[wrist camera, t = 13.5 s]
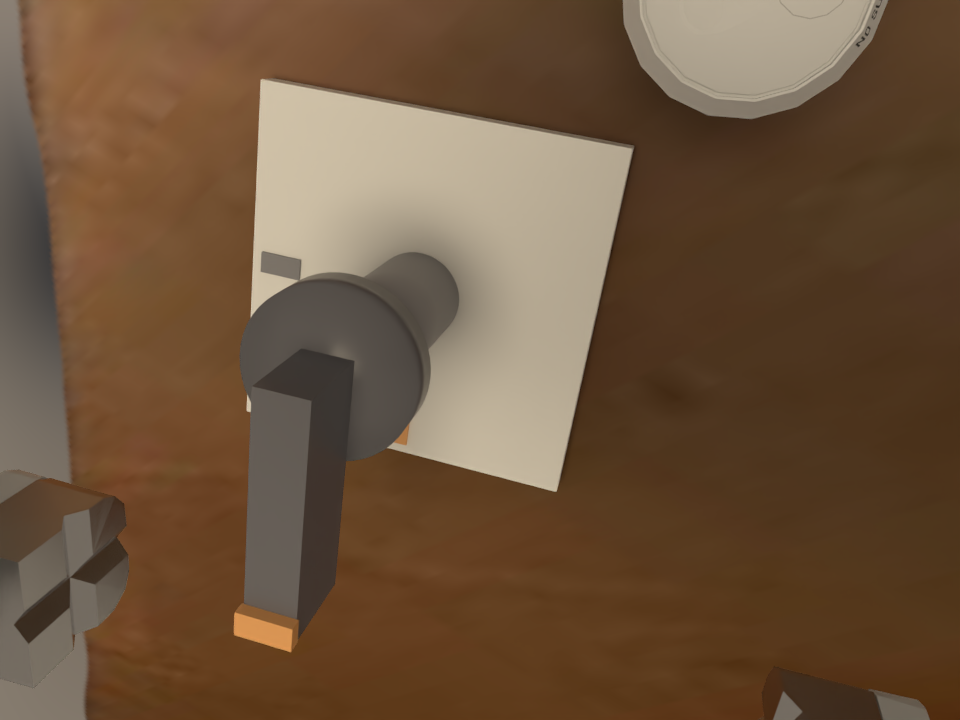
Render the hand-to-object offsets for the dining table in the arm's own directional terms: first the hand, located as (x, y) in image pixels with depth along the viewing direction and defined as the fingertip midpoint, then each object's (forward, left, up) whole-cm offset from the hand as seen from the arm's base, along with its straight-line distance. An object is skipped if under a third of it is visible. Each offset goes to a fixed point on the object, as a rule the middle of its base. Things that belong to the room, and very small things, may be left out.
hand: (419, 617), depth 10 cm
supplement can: (-3, -9, -35) cm, 37 cm away
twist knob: (+10, +11, -23) cm, 28 cm away
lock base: (+10, +8, -35) cm, 37 cm away
